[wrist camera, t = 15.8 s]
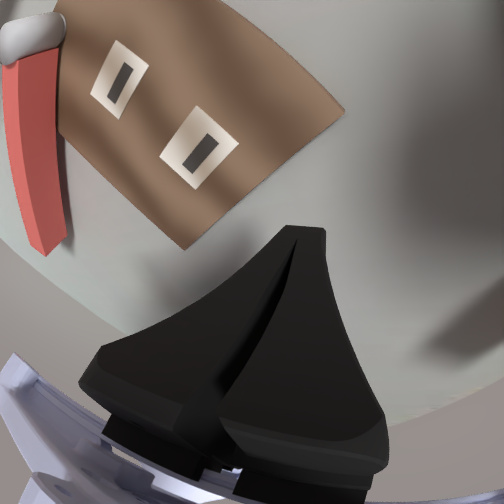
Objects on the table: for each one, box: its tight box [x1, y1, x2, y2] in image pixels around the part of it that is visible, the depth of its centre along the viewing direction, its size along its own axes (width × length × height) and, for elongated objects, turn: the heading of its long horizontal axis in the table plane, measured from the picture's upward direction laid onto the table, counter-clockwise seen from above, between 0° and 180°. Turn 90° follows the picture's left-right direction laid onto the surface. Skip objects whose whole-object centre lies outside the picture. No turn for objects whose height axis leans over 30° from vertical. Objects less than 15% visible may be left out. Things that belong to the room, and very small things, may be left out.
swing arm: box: [0, 12, 67, 257], centre depth 19 cm, size 4×25×4 cm, turn 161°
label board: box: [53, 0, 345, 250], centre depth 17 cm, size 17×23×1 cm
